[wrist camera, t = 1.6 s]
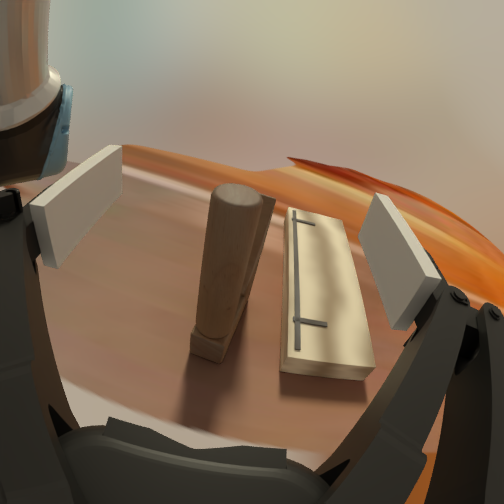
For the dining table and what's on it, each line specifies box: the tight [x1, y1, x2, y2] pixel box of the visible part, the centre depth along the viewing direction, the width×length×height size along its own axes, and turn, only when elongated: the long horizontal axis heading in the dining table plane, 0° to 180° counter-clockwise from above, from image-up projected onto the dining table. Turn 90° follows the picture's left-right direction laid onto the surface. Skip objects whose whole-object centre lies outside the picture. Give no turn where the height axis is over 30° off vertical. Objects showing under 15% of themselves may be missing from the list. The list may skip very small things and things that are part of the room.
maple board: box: [279, 207, 376, 381], centre depth 41 cm, size 10×30×3 cm, turn 174°
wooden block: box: [190, 183, 276, 363], centre depth 28 cm, size 4×11×18 cm, turn 164°
